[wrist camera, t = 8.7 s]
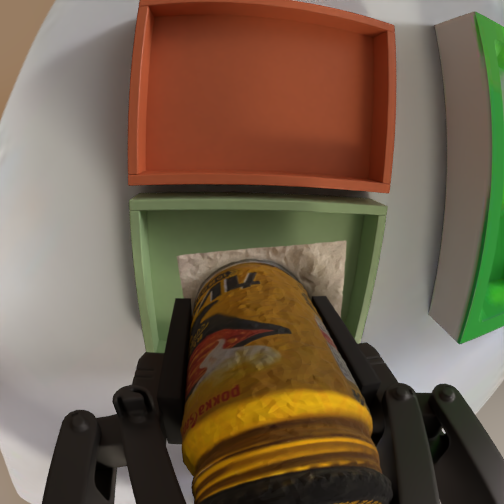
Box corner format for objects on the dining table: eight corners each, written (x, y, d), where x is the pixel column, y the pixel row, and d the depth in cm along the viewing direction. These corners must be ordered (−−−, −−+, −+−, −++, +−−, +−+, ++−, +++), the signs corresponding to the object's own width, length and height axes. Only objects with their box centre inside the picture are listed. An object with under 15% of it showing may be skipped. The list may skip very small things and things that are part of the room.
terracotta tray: (371, 187, 20) (389, 193, 17) (138, 180, 18) (127, 186, 16) (376, 34, 16) (394, 25, 14) (148, 13, 14) (139, -2, 12)
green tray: (345, 336, 24) (357, 354, 21) (153, 342, 22) (148, 363, 20) (370, 198, 20) (388, 206, 18) (139, 192, 18) (128, 200, 16)
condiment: (176, 254, 15) (116, 500, 4) (345, 239, 15) (517, 404, 4) (197, 368, 17) (197, 565, 6) (335, 351, 18) (420, 518, 7)
